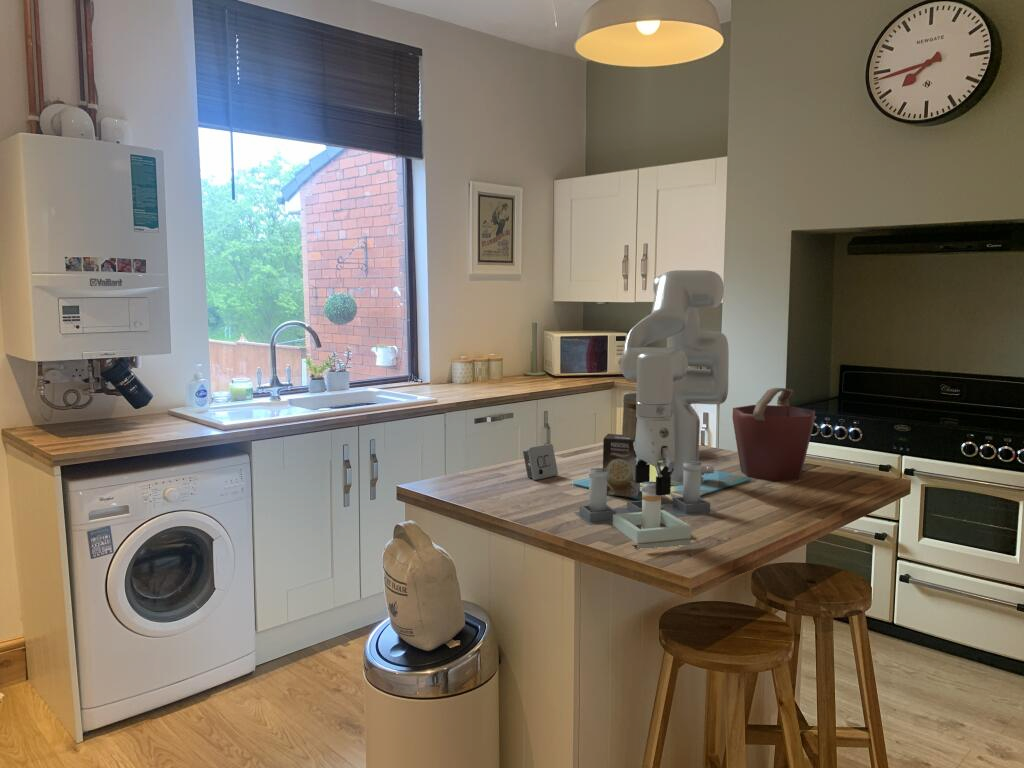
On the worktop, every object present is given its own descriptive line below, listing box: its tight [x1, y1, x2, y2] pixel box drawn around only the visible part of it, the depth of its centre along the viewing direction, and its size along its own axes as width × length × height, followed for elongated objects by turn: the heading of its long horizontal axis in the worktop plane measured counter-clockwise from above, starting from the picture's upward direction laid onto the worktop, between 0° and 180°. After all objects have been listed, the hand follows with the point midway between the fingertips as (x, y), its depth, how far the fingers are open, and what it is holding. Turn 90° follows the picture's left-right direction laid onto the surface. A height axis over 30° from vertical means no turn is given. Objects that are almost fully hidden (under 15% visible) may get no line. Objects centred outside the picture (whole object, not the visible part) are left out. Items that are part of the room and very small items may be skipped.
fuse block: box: [573, 496, 717, 526], centre depth 182 cm, size 32×10×4 cm, turn 106°
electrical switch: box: [522, 443, 559, 481], centre depth 221 cm, size 9×5×9 cm, turn 131°
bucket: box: [732, 387, 816, 482], centre depth 223 cm, size 24×22×25 cm
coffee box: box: [602, 433, 641, 498], centre depth 198 cm, size 9×6×16 cm
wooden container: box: [621, 392, 637, 436], centre depth 256 cm, size 15×15×22 cm
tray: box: [612, 510, 692, 549], centre depth 168 cm, size 12×12×4 cm
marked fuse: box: [640, 481, 662, 529], centre depth 167 cm, size 4×4×11 cm
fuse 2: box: [682, 461, 703, 504], centre depth 184 cm, size 4×4×11 cm
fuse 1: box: [588, 467, 608, 513], centre depth 177 cm, size 4×4×11 cm
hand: (652, 488), depth 167 cm, fingers open, 9 cm apart
